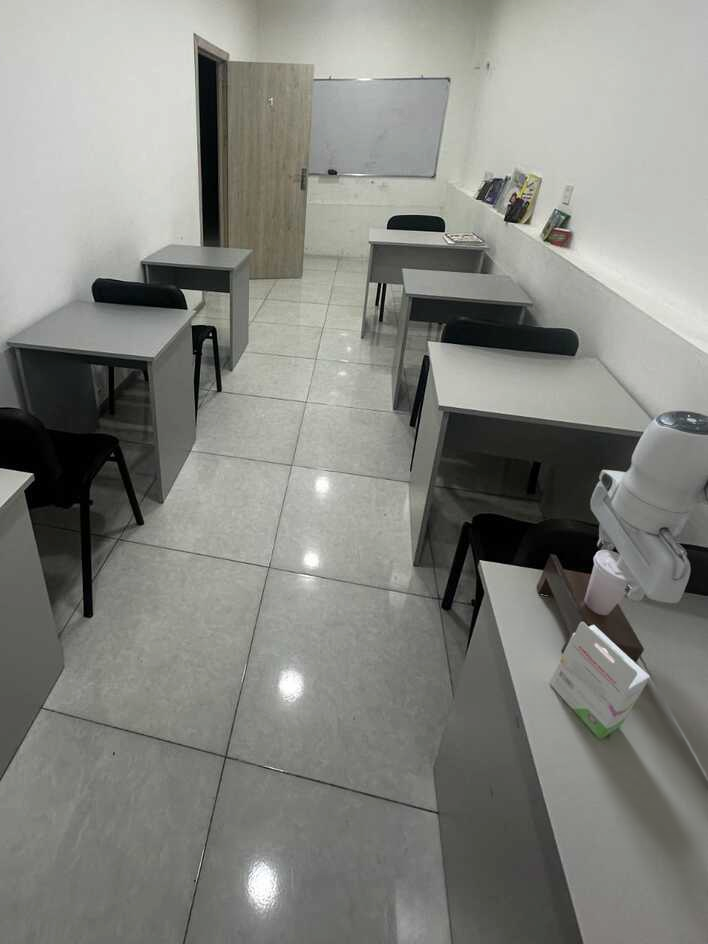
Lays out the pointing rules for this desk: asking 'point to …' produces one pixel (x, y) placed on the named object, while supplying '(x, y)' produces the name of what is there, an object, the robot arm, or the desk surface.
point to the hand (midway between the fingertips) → (616, 572)
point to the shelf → (585, 607)
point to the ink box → (598, 680)
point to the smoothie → (607, 582)
